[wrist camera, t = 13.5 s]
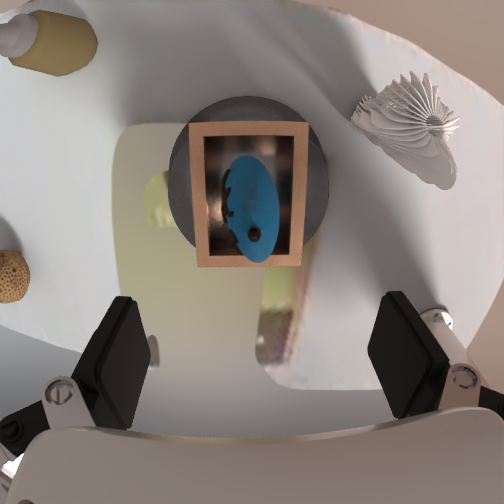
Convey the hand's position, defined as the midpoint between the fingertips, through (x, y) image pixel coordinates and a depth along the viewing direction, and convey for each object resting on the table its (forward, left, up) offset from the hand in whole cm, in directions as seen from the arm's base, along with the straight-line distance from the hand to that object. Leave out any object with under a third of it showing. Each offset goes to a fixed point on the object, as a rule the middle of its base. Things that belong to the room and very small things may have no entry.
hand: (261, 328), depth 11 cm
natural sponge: (-12, +39, -28) cm, 50 cm away
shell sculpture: (+8, -15, -28) cm, 33 cm away
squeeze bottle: (+19, +22, -28) cm, 41 cm away
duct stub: (0, 0, -28) cm, 28 cm away
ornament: (0, 0, -18) cm, 18 cm away
